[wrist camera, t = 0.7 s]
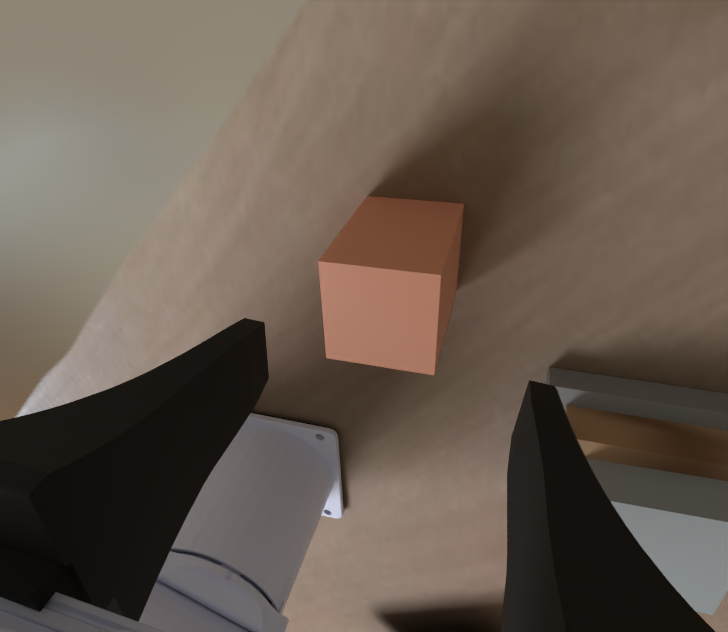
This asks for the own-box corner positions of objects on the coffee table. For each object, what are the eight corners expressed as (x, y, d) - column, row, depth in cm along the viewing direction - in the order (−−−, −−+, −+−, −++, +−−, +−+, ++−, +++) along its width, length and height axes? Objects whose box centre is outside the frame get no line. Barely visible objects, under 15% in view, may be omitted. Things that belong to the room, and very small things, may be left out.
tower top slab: (560, 542, 25) (562, 581, 23) (582, 457, 22) (585, 496, 20) (701, 571, 23) (712, 615, 22) (747, 484, 20) (764, 528, 19)
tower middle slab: (539, 509, 27) (539, 543, 25) (566, 404, 23) (568, 437, 21) (699, 543, 25) (710, 582, 24) (760, 435, 21) (777, 474, 19)
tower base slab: (521, 482, 29) (520, 512, 28) (548, 357, 24) (549, 385, 23) (698, 518, 27) (708, 553, 25) (769, 389, 22) (787, 422, 20)
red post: (369, 279, 24) (326, 358, 19) (367, 195, 22) (318, 261, 17) (456, 289, 23) (434, 375, 18) (464, 203, 21) (440, 275, 16)
